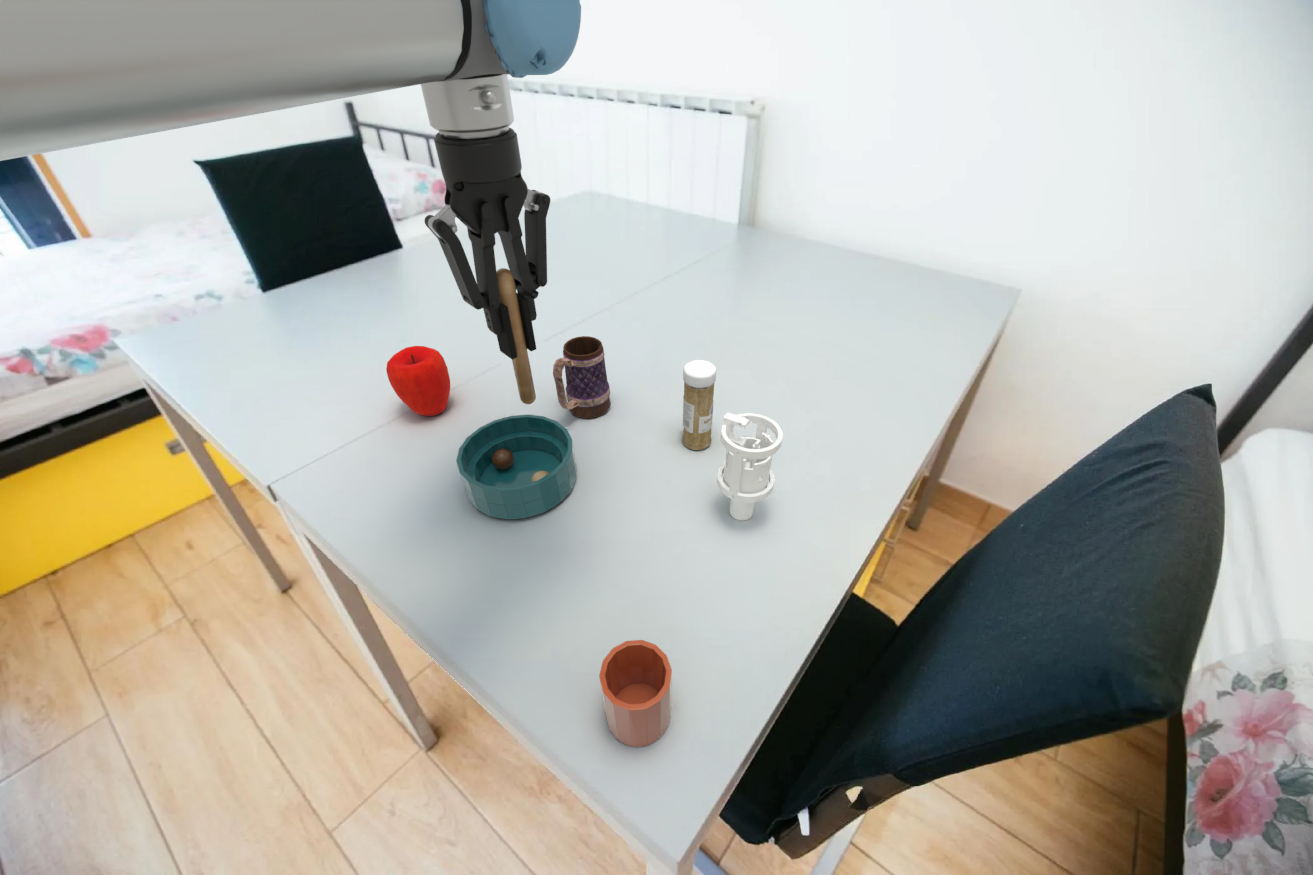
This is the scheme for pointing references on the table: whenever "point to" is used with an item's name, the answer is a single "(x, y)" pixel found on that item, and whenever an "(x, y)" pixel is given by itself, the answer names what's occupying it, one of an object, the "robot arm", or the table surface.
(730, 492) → the white cylindrical cage
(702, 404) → the sprinkles bottle
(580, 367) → the mug
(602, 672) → the utensil pot
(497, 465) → the bead
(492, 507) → the bowl
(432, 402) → the apple
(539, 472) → the bead
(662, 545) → the table surface
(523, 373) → the stick
